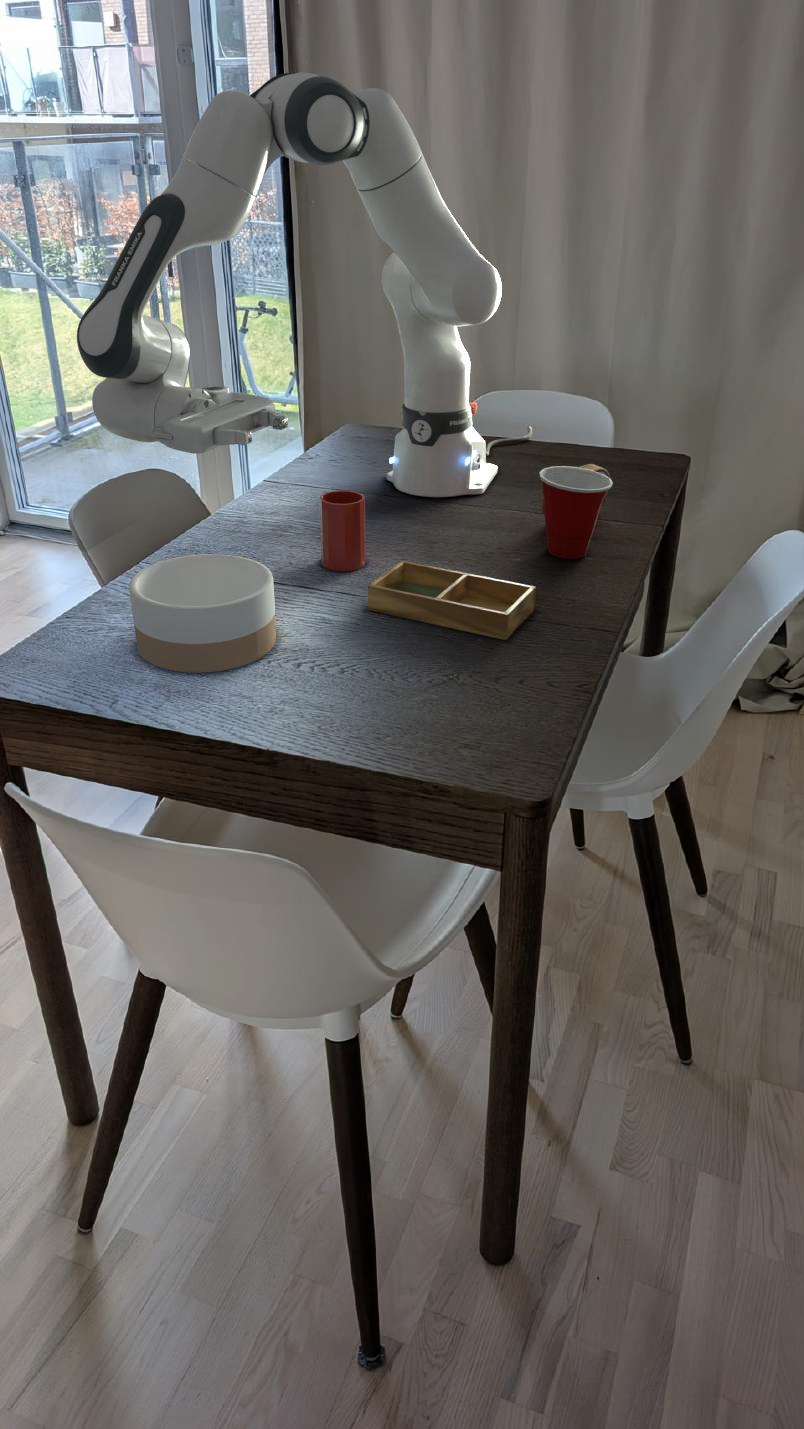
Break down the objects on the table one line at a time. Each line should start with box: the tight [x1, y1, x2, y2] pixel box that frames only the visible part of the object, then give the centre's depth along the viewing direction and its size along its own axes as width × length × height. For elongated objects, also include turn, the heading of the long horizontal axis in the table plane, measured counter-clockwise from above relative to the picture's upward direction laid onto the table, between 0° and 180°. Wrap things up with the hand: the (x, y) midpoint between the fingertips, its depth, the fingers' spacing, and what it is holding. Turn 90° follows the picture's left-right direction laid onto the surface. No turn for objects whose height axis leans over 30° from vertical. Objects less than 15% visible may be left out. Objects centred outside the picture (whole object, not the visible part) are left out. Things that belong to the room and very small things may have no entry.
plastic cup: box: [538, 465, 614, 560], centre depth 154 cm, size 11×11×12 cm
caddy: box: [367, 560, 537, 641], centre depth 137 cm, size 10×20×4 cm, turn 63°
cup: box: [319, 489, 367, 572], centre depth 150 cm, size 6×6×10 cm
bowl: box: [128, 553, 277, 674], centre depth 127 cm, size 17×17×8 cm
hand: (267, 430), depth 148 cm, fingers open, 8 cm apart
